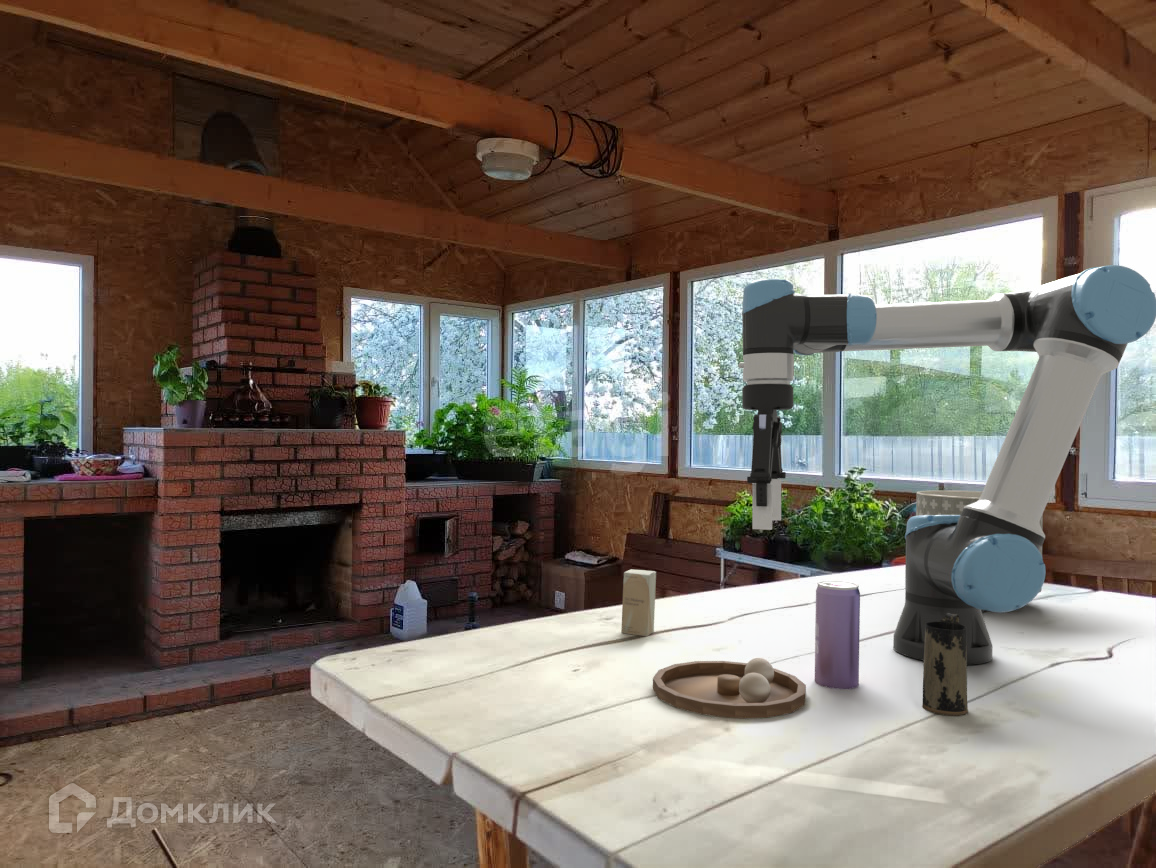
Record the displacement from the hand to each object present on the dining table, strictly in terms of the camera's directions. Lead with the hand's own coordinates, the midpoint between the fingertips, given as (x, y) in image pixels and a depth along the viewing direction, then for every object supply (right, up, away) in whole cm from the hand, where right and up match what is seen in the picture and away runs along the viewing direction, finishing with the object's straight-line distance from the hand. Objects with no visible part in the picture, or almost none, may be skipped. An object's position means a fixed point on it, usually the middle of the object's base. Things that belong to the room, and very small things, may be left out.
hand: (767, 524), depth 124 cm
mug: (+21, -23, -14) cm, 34 cm away
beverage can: (+8, -23, -7) cm, 25 cm away
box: (-18, -22, +25) cm, 38 cm away
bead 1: (-4, -21, -10) cm, 24 cm away
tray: (-8, -22, -13) cm, 27 cm away
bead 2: (-6, -21, -18) cm, 28 cm away
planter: (+59, -24, +57) cm, 86 cm away
